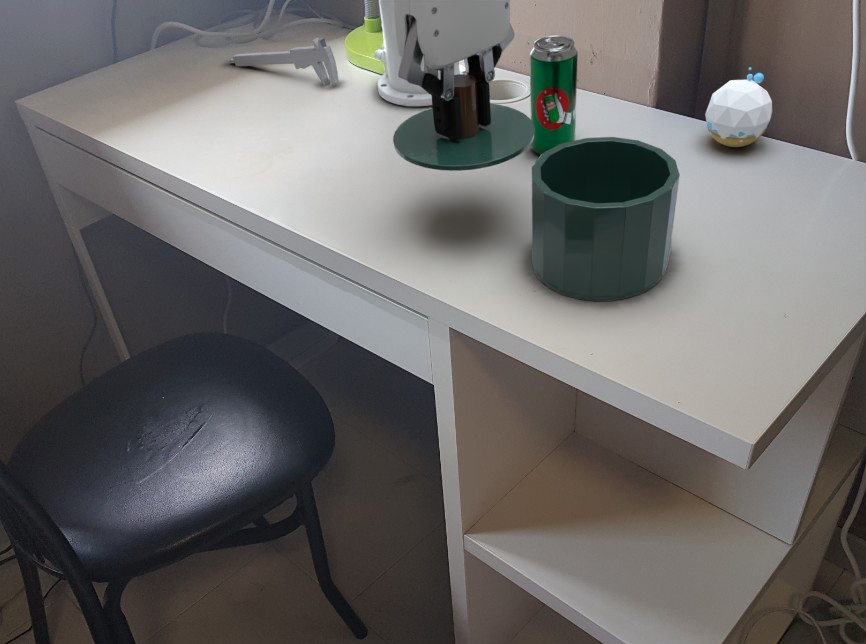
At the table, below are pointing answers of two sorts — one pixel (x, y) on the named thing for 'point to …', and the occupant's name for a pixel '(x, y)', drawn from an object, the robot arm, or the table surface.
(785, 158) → the table surface
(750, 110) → the ornament
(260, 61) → the caliper
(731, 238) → the table surface
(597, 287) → the pot
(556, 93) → the soda can
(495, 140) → the lid
